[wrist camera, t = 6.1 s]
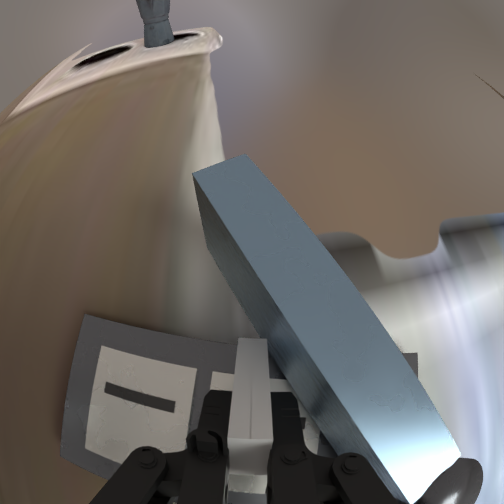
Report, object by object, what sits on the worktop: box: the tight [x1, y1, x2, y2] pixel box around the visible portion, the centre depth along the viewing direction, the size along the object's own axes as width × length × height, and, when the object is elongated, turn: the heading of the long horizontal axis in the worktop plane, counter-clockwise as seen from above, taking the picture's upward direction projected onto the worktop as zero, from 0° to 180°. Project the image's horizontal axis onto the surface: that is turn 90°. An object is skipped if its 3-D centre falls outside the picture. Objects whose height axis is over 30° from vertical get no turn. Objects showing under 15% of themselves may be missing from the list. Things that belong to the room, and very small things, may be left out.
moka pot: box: [136, 0, 174, 48], centre depth 49 cm, size 10×15×20 cm, turn 15°
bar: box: [192, 154, 483, 504], centre depth 12 cm, size 22×4×7 cm, turn 30°
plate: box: [60, 314, 418, 504], centre depth 14 cm, size 25×12×3 cm, turn 83°
